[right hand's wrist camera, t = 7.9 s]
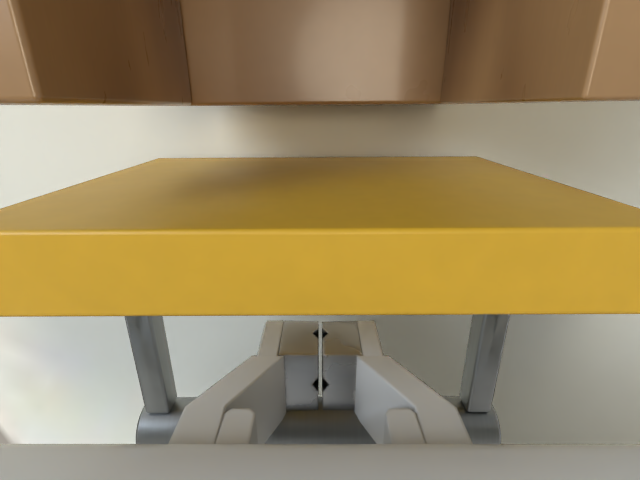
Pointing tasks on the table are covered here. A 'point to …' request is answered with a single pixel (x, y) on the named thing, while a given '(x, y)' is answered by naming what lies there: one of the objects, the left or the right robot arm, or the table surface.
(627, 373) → the table surface
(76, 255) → the drawer
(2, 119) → the table surface
